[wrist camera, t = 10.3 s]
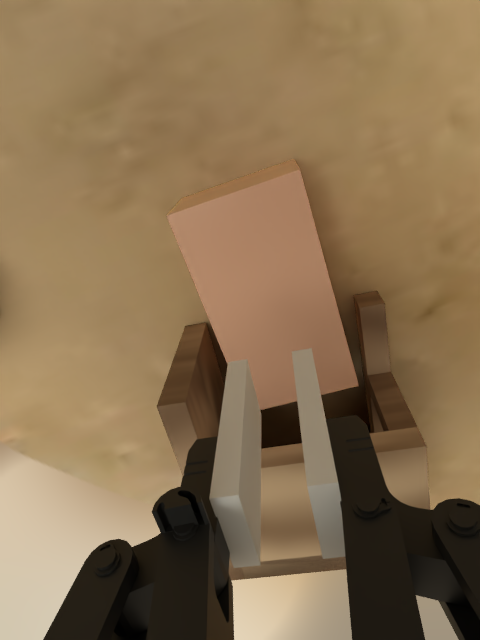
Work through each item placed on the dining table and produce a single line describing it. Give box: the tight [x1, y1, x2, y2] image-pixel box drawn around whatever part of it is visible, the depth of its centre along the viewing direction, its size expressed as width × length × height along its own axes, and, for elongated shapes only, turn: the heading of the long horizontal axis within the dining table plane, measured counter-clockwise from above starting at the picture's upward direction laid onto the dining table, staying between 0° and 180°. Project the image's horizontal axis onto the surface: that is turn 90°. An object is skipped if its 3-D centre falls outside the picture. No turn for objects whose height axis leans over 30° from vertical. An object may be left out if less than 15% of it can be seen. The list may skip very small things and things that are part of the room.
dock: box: [157, 291, 430, 580], centre depth 28 cm, size 14×13×9 cm
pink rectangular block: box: [166, 159, 359, 410], centre depth 26 cm, size 13×7×5 cm, turn 19°
